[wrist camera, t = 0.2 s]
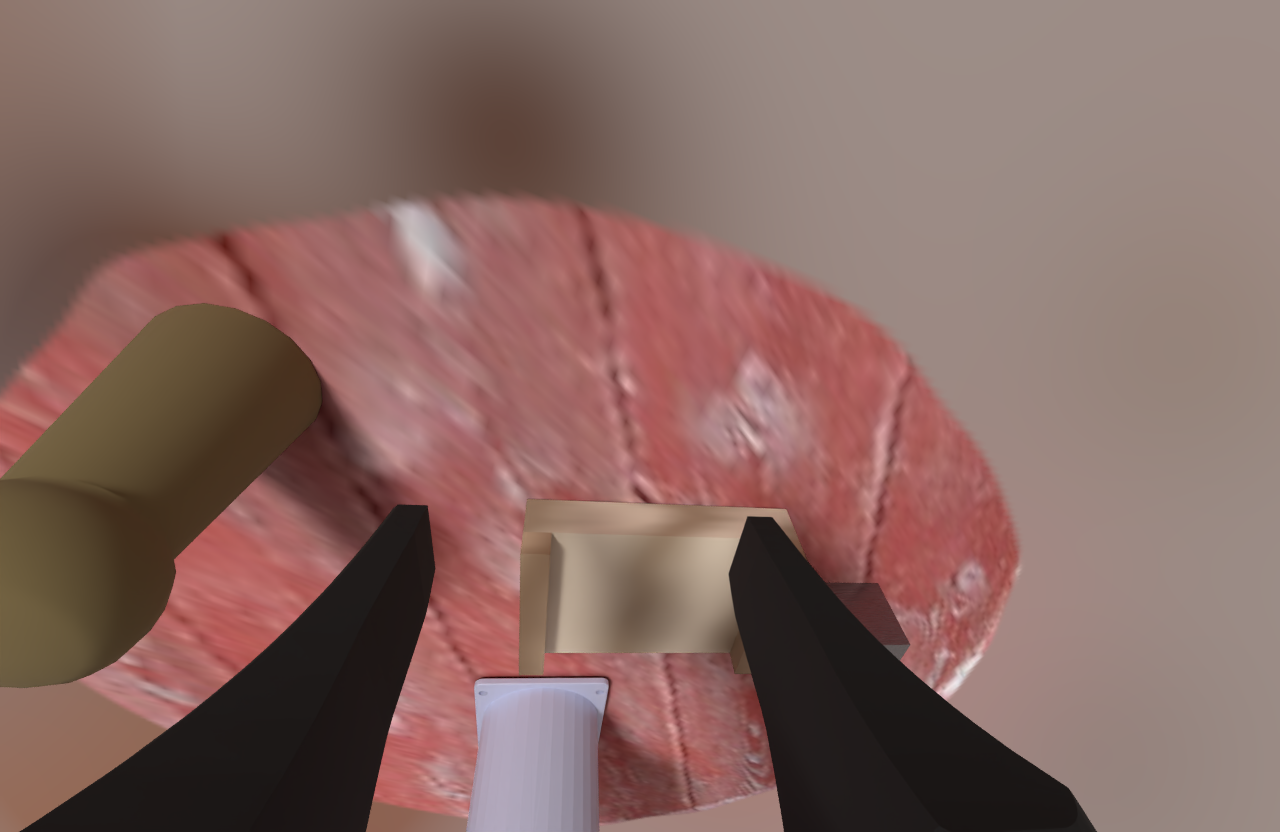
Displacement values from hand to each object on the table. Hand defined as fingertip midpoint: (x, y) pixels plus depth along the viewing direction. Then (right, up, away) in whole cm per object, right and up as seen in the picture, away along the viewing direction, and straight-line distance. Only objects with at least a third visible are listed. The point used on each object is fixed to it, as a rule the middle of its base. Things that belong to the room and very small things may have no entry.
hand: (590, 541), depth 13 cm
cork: (-14, +4, +8) cm, 17 cm away
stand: (+2, -5, +16) cm, 17 cm away
